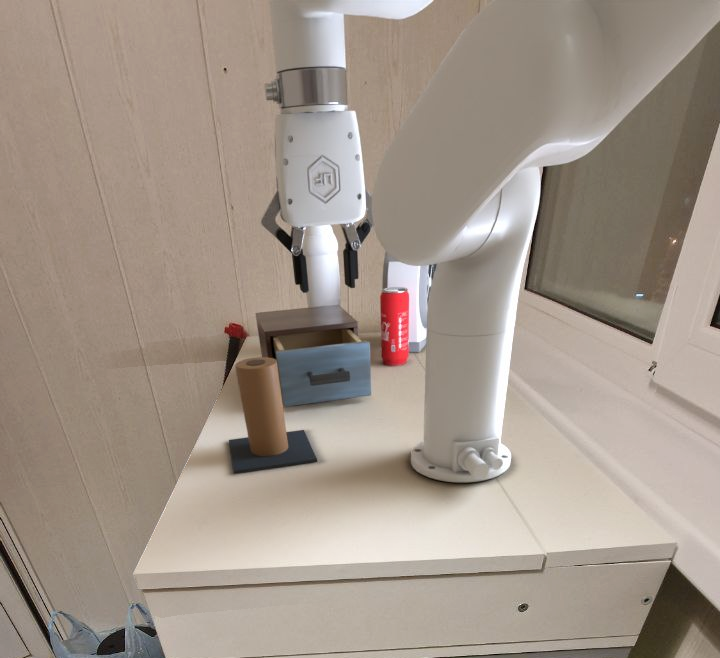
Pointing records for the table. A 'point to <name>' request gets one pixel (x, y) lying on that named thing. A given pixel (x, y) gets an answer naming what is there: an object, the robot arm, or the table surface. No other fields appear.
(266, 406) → the paper roll
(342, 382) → the drawer
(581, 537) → the table surface
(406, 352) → the beverage can
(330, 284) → the water bottle
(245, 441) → the mat
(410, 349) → the white and grey container
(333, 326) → the cabinet
